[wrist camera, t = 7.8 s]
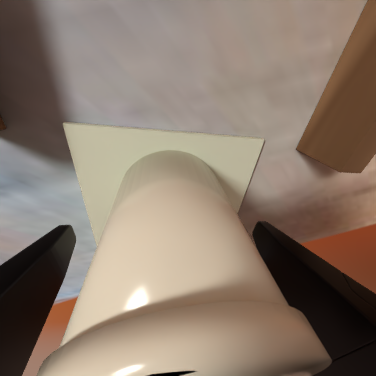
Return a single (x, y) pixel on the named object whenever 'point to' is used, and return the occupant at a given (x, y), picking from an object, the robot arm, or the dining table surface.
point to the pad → (144, 145)
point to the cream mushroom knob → (181, 288)
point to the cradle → (345, 105)
